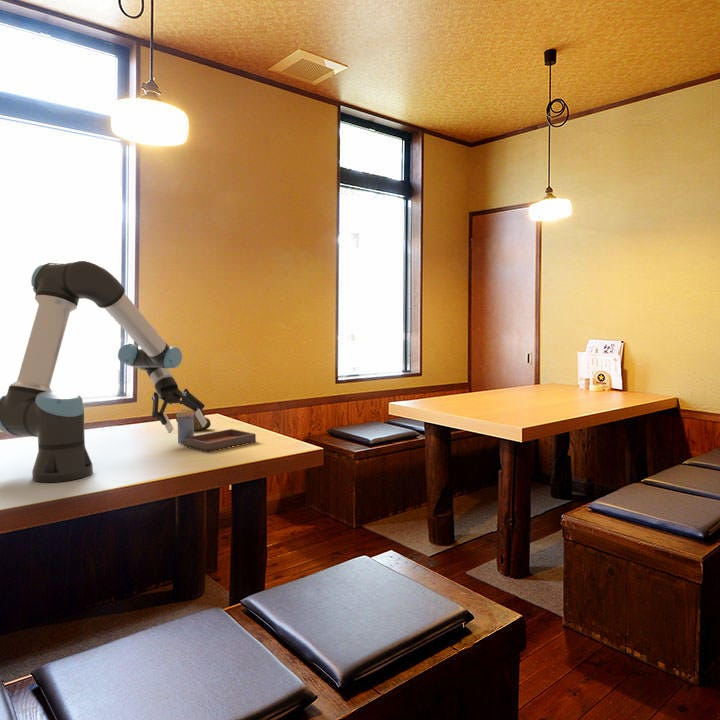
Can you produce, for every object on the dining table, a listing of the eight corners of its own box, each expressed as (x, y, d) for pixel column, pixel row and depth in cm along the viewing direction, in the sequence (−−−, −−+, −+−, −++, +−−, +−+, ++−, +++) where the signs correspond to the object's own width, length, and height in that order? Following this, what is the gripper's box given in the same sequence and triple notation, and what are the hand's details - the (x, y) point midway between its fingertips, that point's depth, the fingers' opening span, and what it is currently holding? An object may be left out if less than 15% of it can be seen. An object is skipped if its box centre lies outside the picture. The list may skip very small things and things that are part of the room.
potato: (201, 433, 219) (201, 412, 219) (172, 431, 223) (171, 411, 222) (213, 428, 227) (212, 408, 226) (184, 427, 231) (184, 407, 230)
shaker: (183, 445, 199) (182, 413, 198) (174, 442, 203) (173, 412, 202) (197, 442, 203) (197, 411, 202) (188, 439, 207) (187, 409, 206)
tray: (207, 452, 187) (207, 443, 187) (184, 446, 197) (183, 437, 196) (255, 442, 202) (255, 433, 202) (231, 436, 212) (231, 428, 211)
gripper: (189, 385, 222) (213, 428, 213) (128, 392, 203) (152, 440, 194) (197, 373, 218) (221, 416, 210) (135, 379, 199) (159, 426, 191)
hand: (188, 427), depth 202 cm, fingers open, 13 cm apart
